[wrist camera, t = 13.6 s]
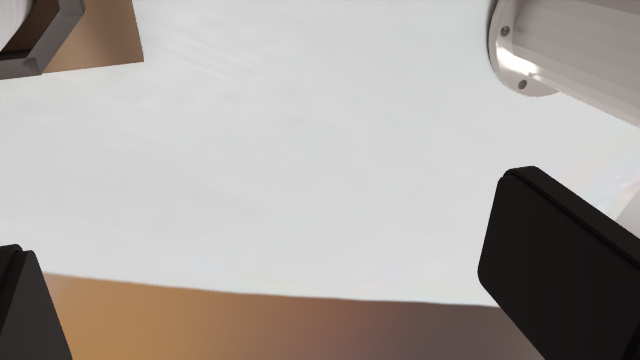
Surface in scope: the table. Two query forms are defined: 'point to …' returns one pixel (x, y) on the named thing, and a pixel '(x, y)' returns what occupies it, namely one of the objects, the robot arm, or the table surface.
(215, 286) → the table surface
